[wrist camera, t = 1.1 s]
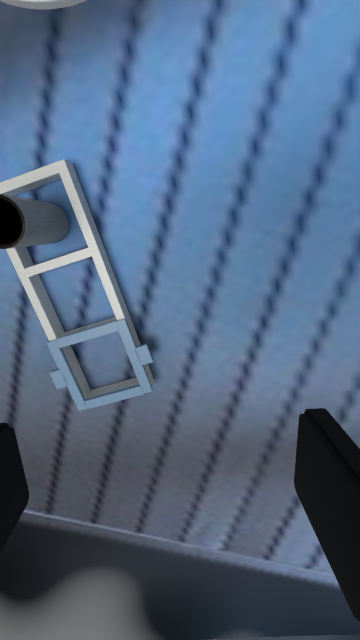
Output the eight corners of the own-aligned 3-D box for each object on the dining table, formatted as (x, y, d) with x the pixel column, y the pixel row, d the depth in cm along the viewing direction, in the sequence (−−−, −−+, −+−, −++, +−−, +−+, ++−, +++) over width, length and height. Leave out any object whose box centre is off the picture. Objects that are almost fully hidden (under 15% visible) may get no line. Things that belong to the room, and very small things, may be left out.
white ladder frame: (85, 159, 33) (75, 152, 30) (164, 377, 41) (162, 388, 38) (-19, 197, 34) (-38, 194, 31) (77, 400, 42) (69, 414, 39)
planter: (53, 194, 34) (0, 181, 24) (77, 230, 35) (36, 231, 26) (23, 216, 35) (-40, 212, 25) (47, 250, 36) (-4, 258, 26)
